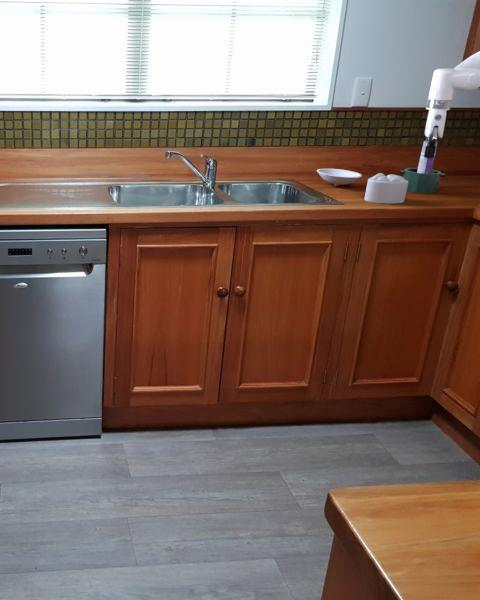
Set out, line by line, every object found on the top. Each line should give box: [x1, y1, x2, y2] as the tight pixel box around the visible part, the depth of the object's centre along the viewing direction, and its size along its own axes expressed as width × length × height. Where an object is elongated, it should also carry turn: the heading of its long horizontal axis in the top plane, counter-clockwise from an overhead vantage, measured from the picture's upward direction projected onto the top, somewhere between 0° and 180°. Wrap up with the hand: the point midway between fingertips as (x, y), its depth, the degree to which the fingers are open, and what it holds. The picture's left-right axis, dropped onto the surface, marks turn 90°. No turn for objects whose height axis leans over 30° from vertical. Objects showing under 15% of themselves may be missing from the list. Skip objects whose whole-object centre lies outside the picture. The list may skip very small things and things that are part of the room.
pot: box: [399, 167, 446, 195], centre depth 229 cm, size 15×12×7 cm
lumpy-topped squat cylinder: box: [363, 172, 408, 204], centre depth 213 cm, size 10×13×9 cm
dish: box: [316, 168, 363, 187], centre depth 235 cm, size 18×14×5 cm
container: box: [417, 140, 438, 174], centre depth 226 cm, size 5×5×15 cm
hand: (427, 155), depth 225 cm, fingers closed on container, 4 cm apart
